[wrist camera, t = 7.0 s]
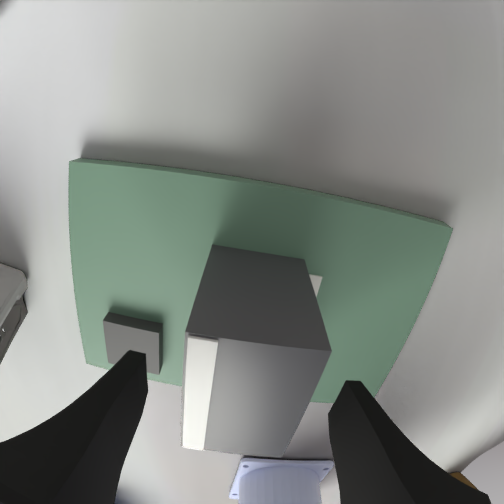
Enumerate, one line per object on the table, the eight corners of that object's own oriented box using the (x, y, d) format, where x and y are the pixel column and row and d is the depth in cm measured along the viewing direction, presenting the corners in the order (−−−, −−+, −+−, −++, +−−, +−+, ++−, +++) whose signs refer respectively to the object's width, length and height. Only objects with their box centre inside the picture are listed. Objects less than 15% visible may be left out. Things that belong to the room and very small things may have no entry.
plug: (275, 361, 16) (281, 459, 11) (199, 350, 16) (179, 447, 10) (304, 259, 14) (332, 353, 8) (212, 244, 14) (184, 334, 8)
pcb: (367, 392, 19) (379, 432, 16) (92, 353, 18) (70, 391, 15) (443, 222, 14) (481, 249, 11) (79, 158, 13) (37, 172, 10)
